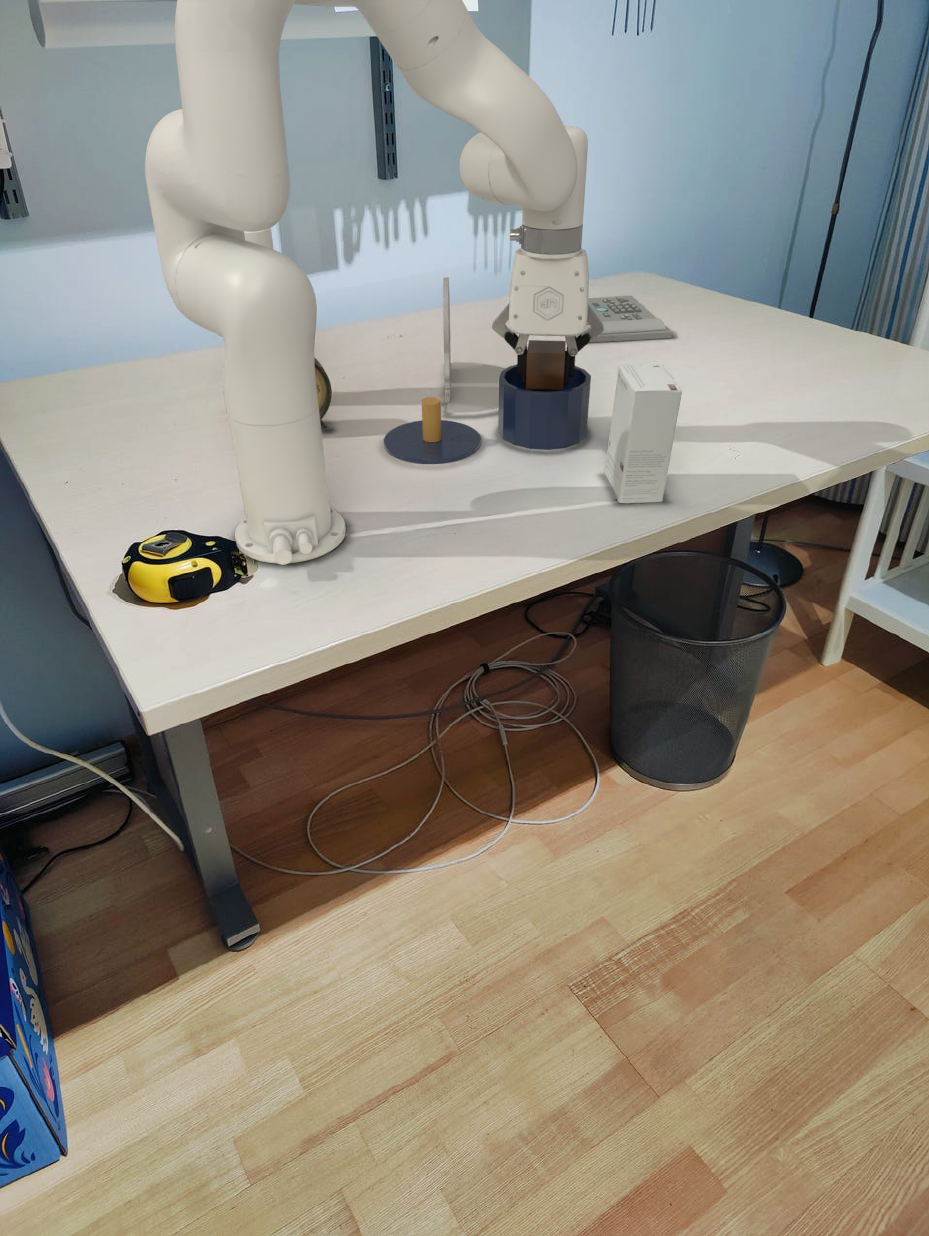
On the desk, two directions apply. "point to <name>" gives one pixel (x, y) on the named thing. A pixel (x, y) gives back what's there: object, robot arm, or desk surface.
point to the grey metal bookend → (467, 375)
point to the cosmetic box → (642, 432)
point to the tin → (543, 411)
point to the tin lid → (432, 438)
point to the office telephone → (626, 320)
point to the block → (545, 364)
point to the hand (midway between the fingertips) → (545, 379)
